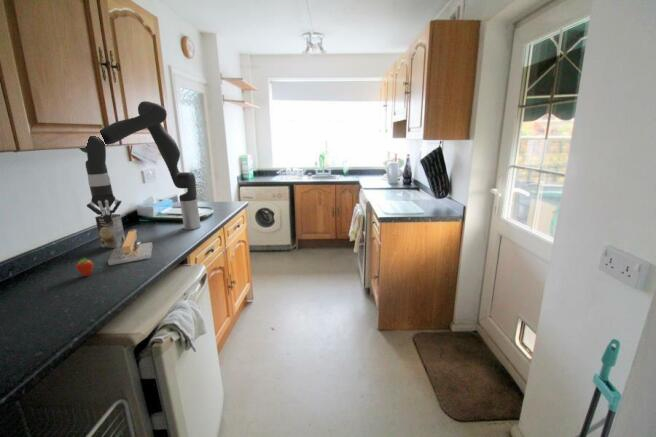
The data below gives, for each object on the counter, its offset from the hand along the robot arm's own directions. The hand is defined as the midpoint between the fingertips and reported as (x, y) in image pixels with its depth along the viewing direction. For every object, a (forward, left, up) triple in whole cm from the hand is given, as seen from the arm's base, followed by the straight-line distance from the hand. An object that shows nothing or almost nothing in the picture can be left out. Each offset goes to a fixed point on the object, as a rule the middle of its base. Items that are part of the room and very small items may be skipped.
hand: (108, 222), depth 137 cm
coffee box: (-22, -4, -18) cm, 28 cm away
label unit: (-2, +6, -17) cm, 18 cm away
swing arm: (-5, +6, -12) cm, 15 cm away
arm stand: (-17, +6, -17) cm, 25 cm away
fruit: (+15, -8, -18) cm, 24 cm away
